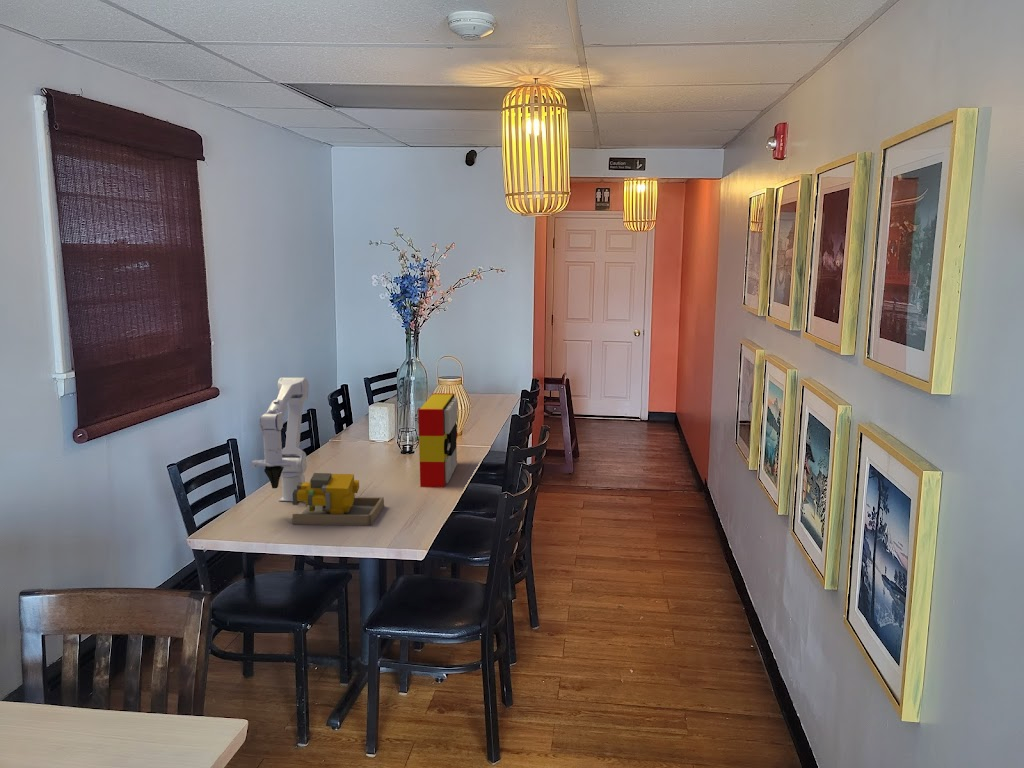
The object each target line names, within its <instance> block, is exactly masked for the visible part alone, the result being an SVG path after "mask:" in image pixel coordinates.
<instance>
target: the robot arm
mask: <svg viewBox="0 0 1024 768" xmlns="http://www.w3.org/2000/svg"><path fill="white" fill-rule="evenodd" d="M309 389H310V384H309V381H308V378H307V377H305V376H304V377H283V376H281V377H280V378H279V379H278V380H277V391H278V395H277V396H276V397H277V398H276V399H274V400H272V401H271V403H270V404H269V406H268V409H267V411H266V412H265V413H263V414H261V415H260V417H259V425H258V426H259V429H260V431H261V433H260V434H261V436H262V438H263V453H264V455H263V456H264V459H254V460H252V461H251V468H257V467H259V468H260V467H261V468H263V467H264V470H263V472H264V473H265V475H266V476H267V478H268V480H269V482H270V486H271V488H272V489H278V488H279V483H280V478H281V487H282V488H281V490H282V497H280V498H279V499H278V501H279V502H293V494H292V493H293V491H294V490H297V485H298V483H299V482H306V476H305V475H304V474H305V472H306V470H307V467H308V465H307V464H308V463H307V454H306V452H305V451H304V450H303V449H301V447H300V441H301V431H302V430H301V428H302V417H303V416H302V415H303V408H304V403H306V402H307V401H308V398H309V392H310V390H309ZM287 410H288V414H287V424H286V437H285V447H282V429H283V426H284V422H285V421H284V418H285V414H286V413H287Z"/></svg>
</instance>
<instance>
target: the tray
mask: <svg viewBox="0 0 1024 768" xmlns="http://www.w3.org/2000/svg"><path fill="white" fill-rule="evenodd" d="M322 507H323V506H315V510H314V511H310V510H309V505H307V507H306V508H305V509H304V510H303V512H301V513H293V514H292V525H315V526H316V525H320V526H321V525H325V526H327V525H328V526H332V525H333V526H335V525H336V526H372V524H373V523H374V522H375V520H376V519H377V517H378V516H379V514H380V513H381V511H382V510H383V509H384V507H385V498H384V497H380V496H379V497H377V496H376V497H373V496H371V497H369V496H363V497H362V496H361V497H359V496H355V501H354V504H353V506H352V509H351V511H350V514H349V515H342V514H327V513H326V512H323V510H322Z"/></svg>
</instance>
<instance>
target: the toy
mask: <svg viewBox="0 0 1024 768" xmlns="http://www.w3.org/2000/svg"><path fill="white" fill-rule="evenodd" d="M359 490H360V480H358V479H355V474H354V473H352V474H351V473H330V472H329V473H327V472H314V473H313V475H312V476H311V478H310V480H309V482H306V481H305V482H299V483H298V485H297V490H294V491H293V493H292V494H293V501H292V505H293V506H298V505H299V503H300V502H305V505H306V506H309V510H310V511H314V510H315V506H323V507H322V510H323V512H326V513H327V514H342V515H349V514H350V511H351V509H352V506H353V504H354V501H355V497H356V495H355V494H358V492H359Z"/></svg>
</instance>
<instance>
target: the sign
mask: <svg viewBox="0 0 1024 768" xmlns="http://www.w3.org/2000/svg"><path fill="white" fill-rule="evenodd" d="M417 413H418V414H417V415H418V419H417V421H418V449H419V451H418V452H419V453H418V454H419V483H420V484H419V485H420V486H419V487H420V488H445V487H446V484H448V483H449V481H450V480H451V478H452V475H453V473H454V472H455V469H456V467H457V465H458V456H457V454H458V453H457V452H458V451H457V449H458V448H457V440H458V435H459V434H458V424H457V421H458V397H456V396H455V393H449V392H448V393H440V392H439V393H435V392H434V393H431V396H430V397H429V398H428V399H427V400H426V401H425V402H424V403H423V405H421V407H420V408H418V409H417Z"/></svg>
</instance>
